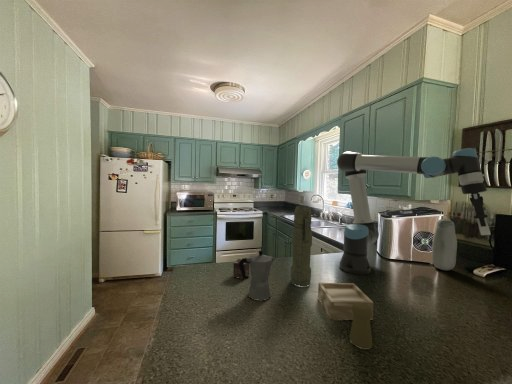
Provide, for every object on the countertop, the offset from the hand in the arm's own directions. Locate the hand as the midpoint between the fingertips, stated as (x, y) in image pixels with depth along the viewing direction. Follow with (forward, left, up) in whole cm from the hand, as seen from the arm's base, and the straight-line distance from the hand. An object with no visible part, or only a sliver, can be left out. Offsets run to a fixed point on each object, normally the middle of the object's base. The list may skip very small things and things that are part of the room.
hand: (485, 233), depth 91 cm
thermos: (-9, -74, -26) cm, 79 cm away
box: (-15, -101, -26) cm, 106 cm away
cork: (+28, -65, -26) cm, 76 cm away
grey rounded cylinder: (-29, +9, -26) cm, 40 cm away
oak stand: (+11, -63, -26) cm, 69 cm away
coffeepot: (+3, -94, -26) cm, 98 cm away
